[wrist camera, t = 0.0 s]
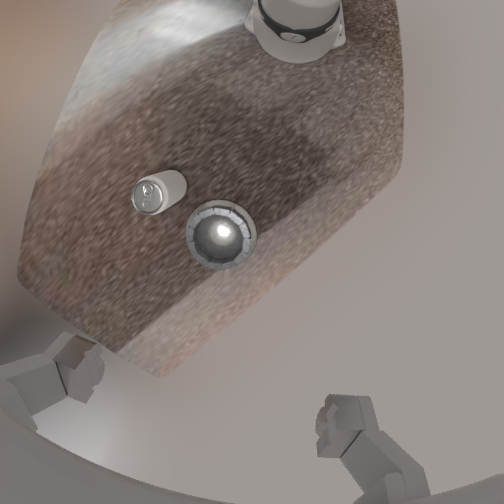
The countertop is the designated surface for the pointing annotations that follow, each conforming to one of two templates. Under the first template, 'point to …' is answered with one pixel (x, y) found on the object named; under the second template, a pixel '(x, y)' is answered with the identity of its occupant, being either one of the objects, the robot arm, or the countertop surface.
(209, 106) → the countertop surface
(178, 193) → the can
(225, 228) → the notched rim bowl
